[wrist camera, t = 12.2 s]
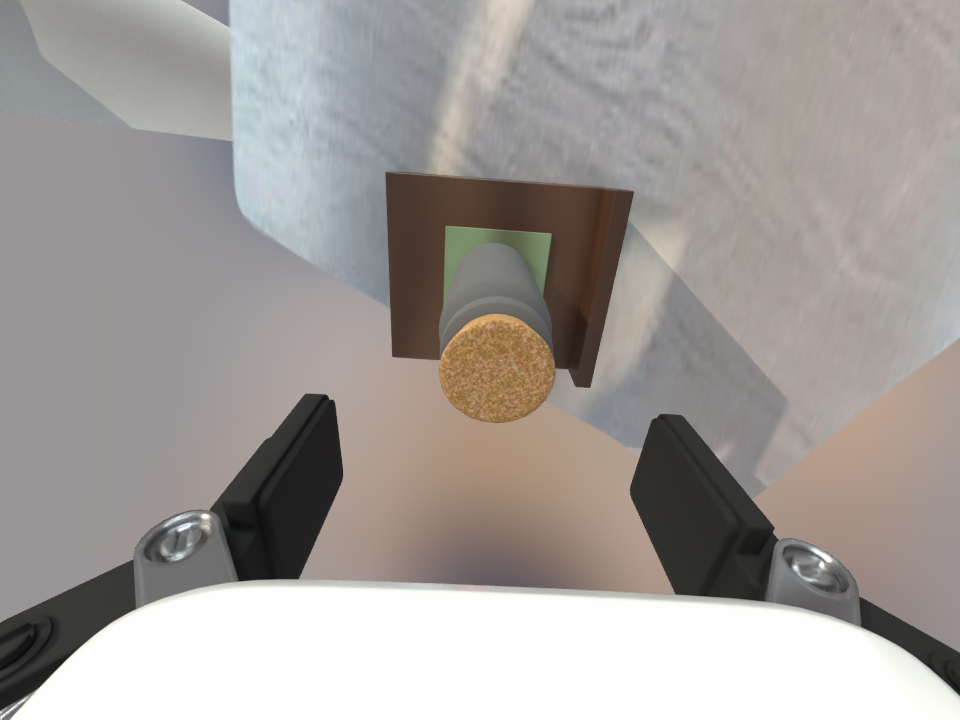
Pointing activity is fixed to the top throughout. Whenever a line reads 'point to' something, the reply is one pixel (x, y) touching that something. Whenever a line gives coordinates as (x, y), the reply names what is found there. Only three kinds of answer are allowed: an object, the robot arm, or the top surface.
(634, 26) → the top surface
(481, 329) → the bottle
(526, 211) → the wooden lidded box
